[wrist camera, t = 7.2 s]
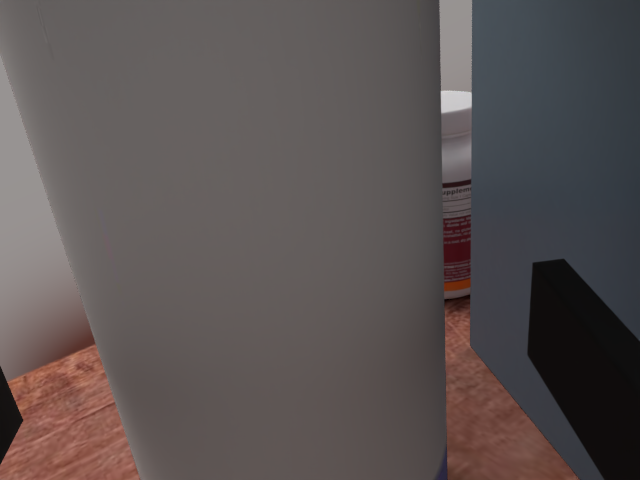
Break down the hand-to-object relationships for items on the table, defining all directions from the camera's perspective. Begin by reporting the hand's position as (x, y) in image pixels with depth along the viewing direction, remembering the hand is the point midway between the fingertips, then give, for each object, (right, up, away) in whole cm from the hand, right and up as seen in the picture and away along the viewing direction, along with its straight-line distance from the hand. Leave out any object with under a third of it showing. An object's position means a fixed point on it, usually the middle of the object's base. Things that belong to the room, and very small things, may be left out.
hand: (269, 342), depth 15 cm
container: (+1, -8, +8) cm, 12 cm away
